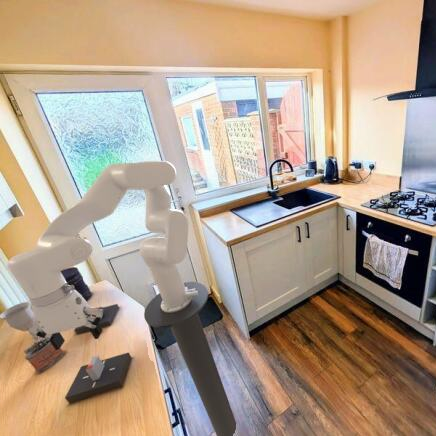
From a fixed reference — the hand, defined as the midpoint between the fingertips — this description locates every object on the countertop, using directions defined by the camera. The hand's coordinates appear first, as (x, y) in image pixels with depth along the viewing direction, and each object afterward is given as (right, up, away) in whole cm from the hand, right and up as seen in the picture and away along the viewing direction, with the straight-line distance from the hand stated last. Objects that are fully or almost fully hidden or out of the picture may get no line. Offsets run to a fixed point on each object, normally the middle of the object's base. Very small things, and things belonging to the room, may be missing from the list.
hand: (80, 340), depth 71 cm
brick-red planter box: (-22, -15, +14) cm, 30 cm away
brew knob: (+1, -13, +5) cm, 14 cm away
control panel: (+2, -16, +6) cm, 17 cm away
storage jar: (-38, -3, +44) cm, 58 cm away
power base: (-18, -7, +30) cm, 36 cm away
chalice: (-33, -13, +21) cm, 41 cm away
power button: (-19, -3, +29) cm, 34 cm away
